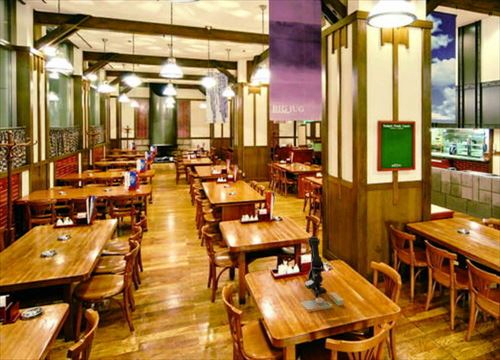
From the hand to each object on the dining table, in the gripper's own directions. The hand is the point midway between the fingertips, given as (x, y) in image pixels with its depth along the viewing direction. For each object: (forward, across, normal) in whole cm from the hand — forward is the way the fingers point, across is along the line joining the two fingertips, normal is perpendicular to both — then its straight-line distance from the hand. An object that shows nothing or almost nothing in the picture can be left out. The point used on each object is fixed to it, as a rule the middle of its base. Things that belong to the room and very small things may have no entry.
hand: (316, 297), depth 251 cm
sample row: (+2, +7, +12) cm, 14 cm away
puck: (+1, +5, 0) cm, 5 cm away
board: (+2, +8, -4) cm, 9 cm away
